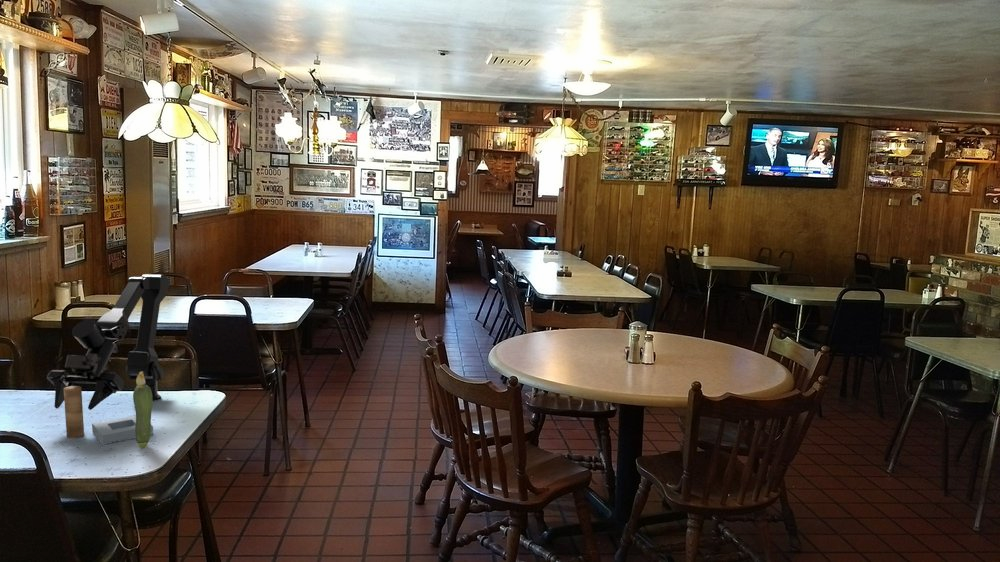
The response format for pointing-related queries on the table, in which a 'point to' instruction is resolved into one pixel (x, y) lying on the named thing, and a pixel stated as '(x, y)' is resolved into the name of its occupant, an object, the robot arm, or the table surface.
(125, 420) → the socket
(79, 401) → the peg
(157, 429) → the table surface
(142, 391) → the vegetable
